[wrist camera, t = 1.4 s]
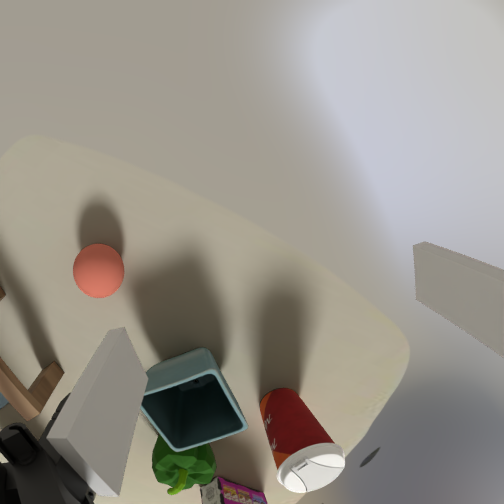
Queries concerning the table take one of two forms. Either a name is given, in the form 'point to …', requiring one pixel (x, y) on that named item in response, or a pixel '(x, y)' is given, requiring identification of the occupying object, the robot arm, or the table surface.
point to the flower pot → (191, 401)
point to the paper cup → (299, 443)
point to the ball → (98, 270)
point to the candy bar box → (230, 493)
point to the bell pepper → (182, 466)
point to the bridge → (36, 395)
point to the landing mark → (3, 400)
